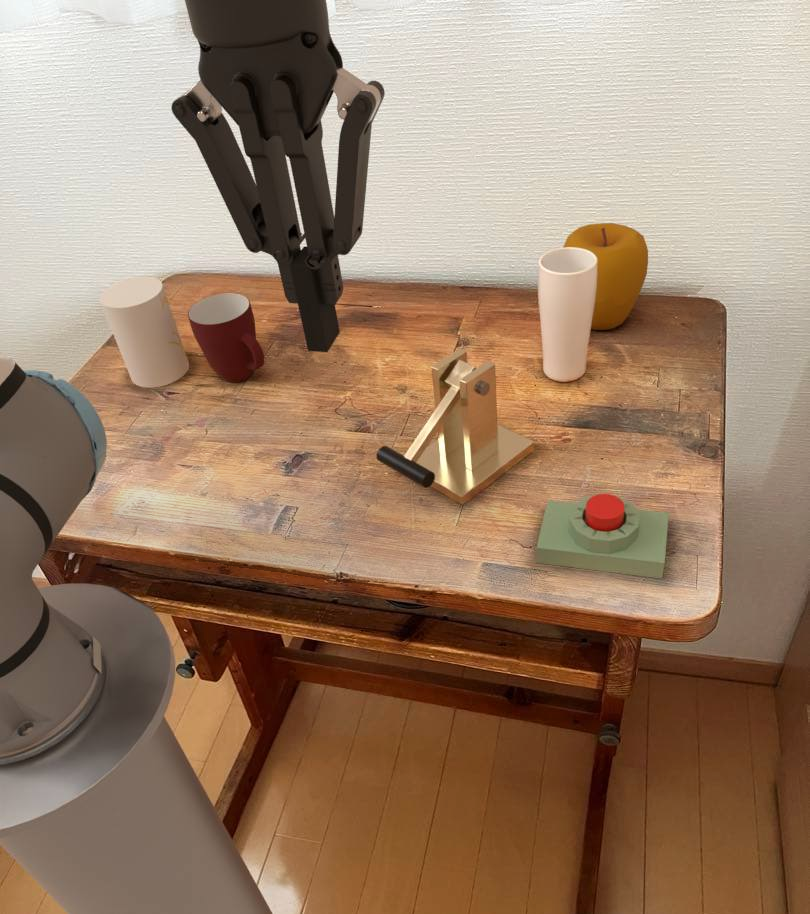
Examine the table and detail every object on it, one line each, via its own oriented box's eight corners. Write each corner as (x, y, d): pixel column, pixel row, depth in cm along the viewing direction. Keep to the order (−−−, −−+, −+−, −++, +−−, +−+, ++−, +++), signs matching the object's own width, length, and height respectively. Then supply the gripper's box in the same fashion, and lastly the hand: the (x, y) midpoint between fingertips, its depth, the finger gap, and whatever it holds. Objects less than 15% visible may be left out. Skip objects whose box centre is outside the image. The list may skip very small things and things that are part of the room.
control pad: (536, 563, 82) (536, 534, 79) (547, 515, 87) (547, 486, 84) (662, 578, 79) (666, 549, 76) (666, 528, 84) (671, 498, 81)
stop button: (583, 530, 80) (583, 516, 79) (587, 505, 82) (588, 491, 81) (621, 534, 79) (622, 520, 78) (625, 508, 81) (626, 495, 80)
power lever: (429, 492, 86) (418, 482, 84) (383, 464, 90) (372, 455, 88) (501, 385, 86) (492, 374, 84) (452, 363, 90) (442, 351, 88)
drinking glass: (528, 365, 107) (528, 255, 97) (576, 352, 108) (581, 241, 98) (550, 392, 102) (553, 279, 92) (601, 378, 103) (609, 265, 93)
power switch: (462, 505, 89) (454, 408, 80) (404, 471, 94) (391, 376, 86) (534, 450, 95) (534, 353, 86) (475, 421, 100) (470, 326, 91)
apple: (640, 299, 116) (649, 207, 107) (643, 341, 108) (653, 246, 99) (560, 300, 118) (562, 210, 109) (557, 341, 110) (559, 248, 101)
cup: (197, 372, 114) (171, 292, 106) (142, 394, 112) (110, 314, 103) (177, 348, 120) (150, 270, 111) (123, 369, 117) (92, 291, 109)
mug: (293, 371, 112) (277, 303, 105) (254, 402, 108) (234, 334, 101) (236, 353, 117) (217, 287, 110) (196, 382, 113) (174, 316, 106)
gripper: (101, -29, 43) (221, 364, 59) (338, -47, 39) (395, 376, 56) (168, -60, 48) (261, 310, 64) (384, -79, 44) (424, 318, 61)
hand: (324, 341), depth 60 cm, fingers closed
